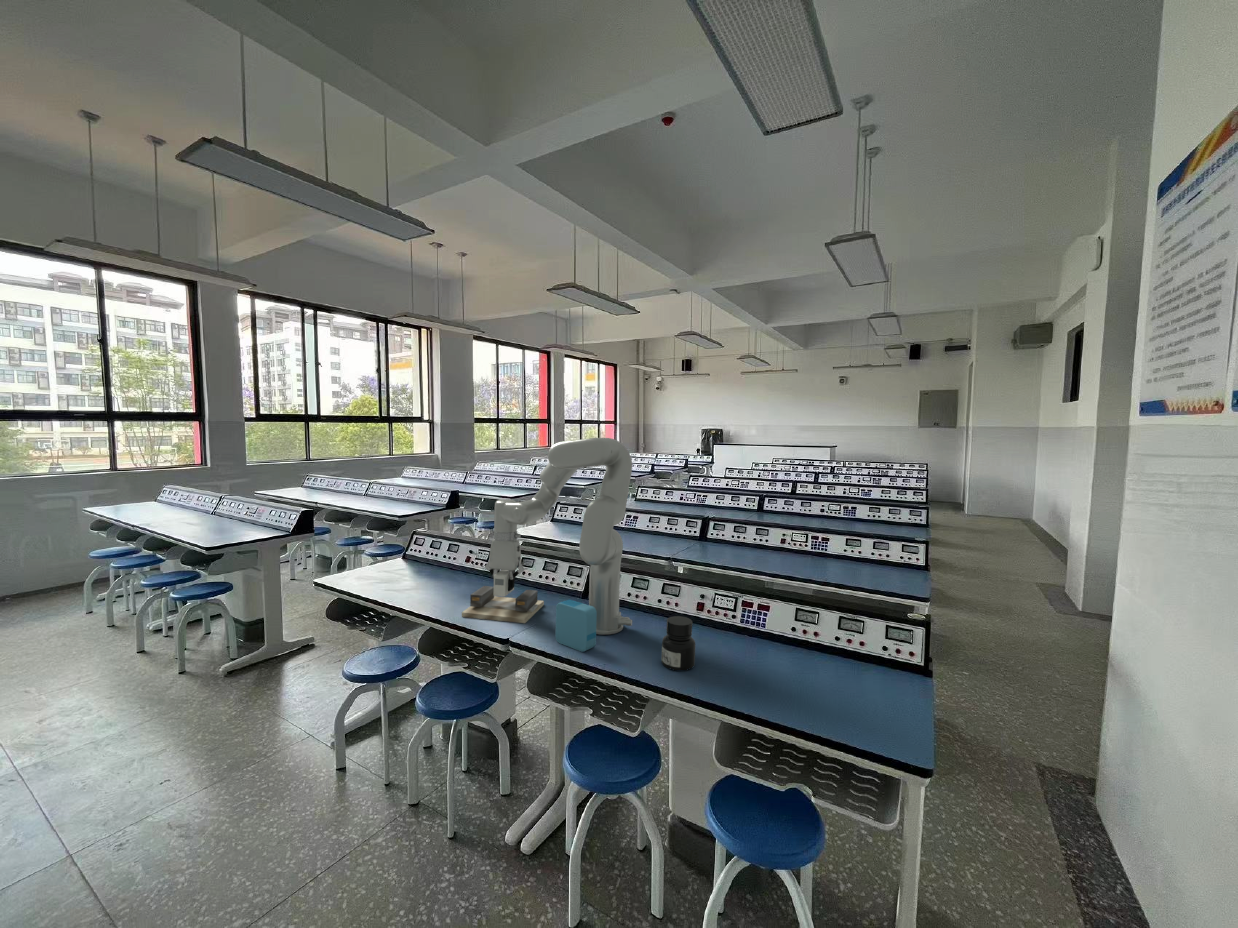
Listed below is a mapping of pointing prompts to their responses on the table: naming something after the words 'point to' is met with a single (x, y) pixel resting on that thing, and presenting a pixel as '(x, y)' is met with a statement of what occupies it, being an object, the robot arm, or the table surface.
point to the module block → (501, 583)
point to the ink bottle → (678, 644)
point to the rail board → (502, 606)
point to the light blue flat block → (576, 625)
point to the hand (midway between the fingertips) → (504, 588)
